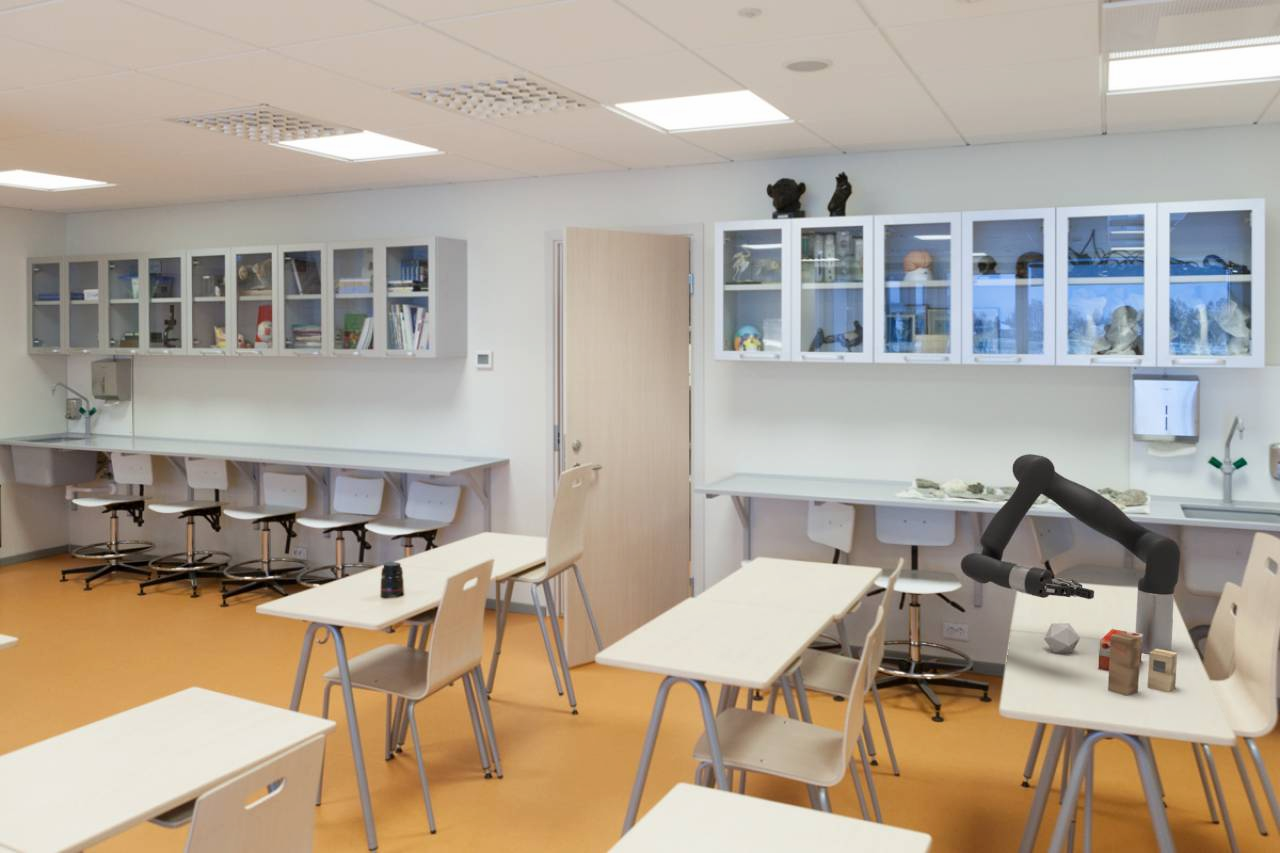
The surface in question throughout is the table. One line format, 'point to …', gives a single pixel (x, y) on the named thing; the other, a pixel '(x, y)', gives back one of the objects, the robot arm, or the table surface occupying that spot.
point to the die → (1061, 638)
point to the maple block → (1162, 670)
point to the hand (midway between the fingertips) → (1092, 594)
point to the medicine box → (1105, 648)
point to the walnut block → (1124, 663)
